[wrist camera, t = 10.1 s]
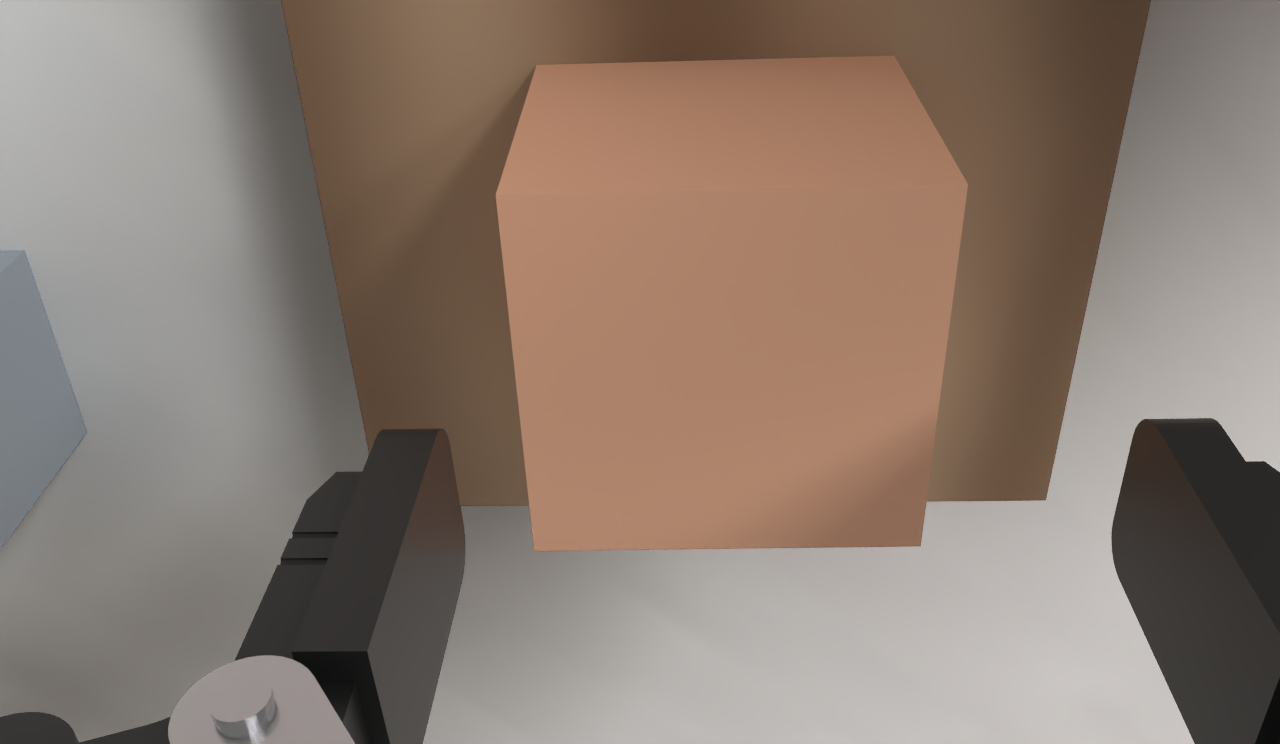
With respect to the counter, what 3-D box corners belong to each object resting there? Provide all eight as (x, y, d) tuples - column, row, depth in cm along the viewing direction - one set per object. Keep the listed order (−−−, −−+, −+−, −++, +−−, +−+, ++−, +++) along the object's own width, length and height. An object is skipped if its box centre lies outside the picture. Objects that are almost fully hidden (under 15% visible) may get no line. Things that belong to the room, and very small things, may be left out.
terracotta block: (893, 55, 17) (967, 183, 13) (867, 360, 20) (920, 546, 16) (536, 65, 17) (496, 195, 13) (560, 365, 20) (534, 551, 16)
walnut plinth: (1116, -210, 18) (1190, -188, 15) (1006, 412, 24) (1045, 500, 22) (307, -186, 18) (250, -161, 16) (408, 419, 25) (379, 506, 22)
